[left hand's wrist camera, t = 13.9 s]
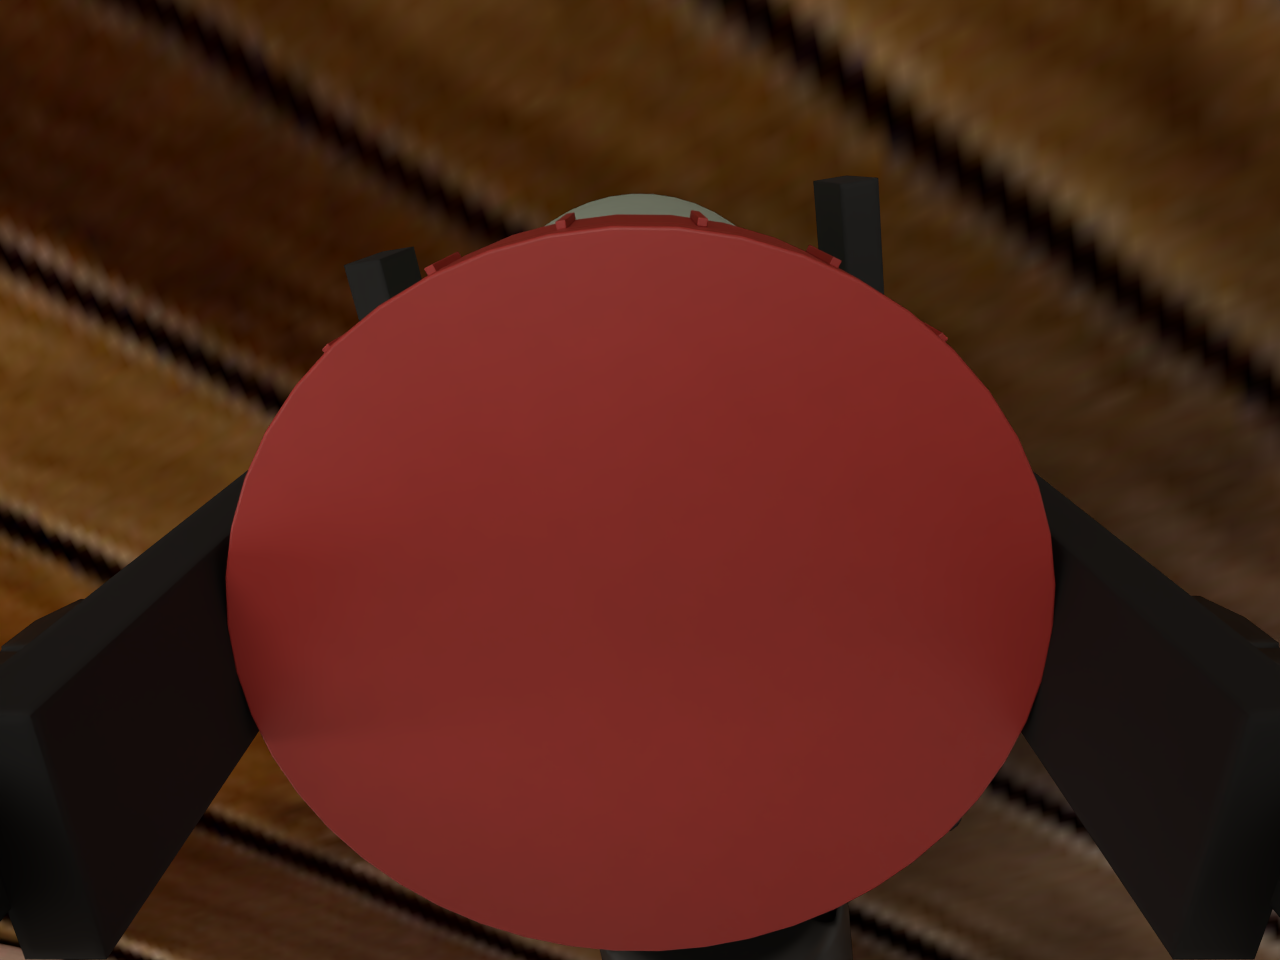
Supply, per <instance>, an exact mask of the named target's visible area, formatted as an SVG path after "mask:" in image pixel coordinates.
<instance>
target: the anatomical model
mask: <svg viewBox="0 0 1280 960" xmlns="http://www.w3.org/2000/svg"><path fill="white" fill-rule="evenodd" d="M0 960H63V959H25V958H24V955H23V952H22V950H21V948H19V947H15V946H10V945H5V944H0Z"/></svg>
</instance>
